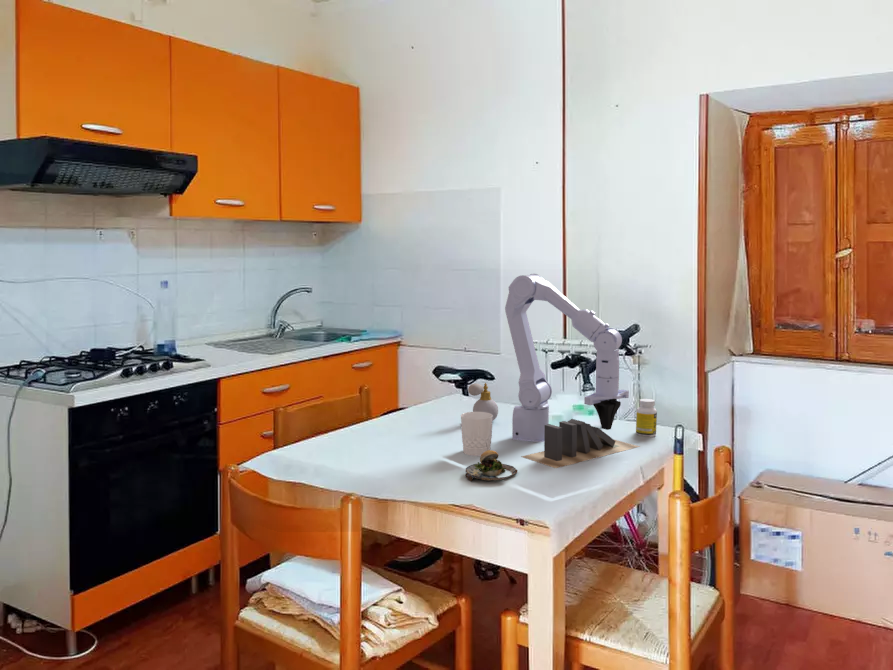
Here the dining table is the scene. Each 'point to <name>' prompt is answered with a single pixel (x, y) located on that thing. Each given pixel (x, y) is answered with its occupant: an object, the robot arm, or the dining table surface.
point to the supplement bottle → (646, 418)
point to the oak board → (580, 455)
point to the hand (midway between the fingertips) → (606, 428)
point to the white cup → (476, 432)
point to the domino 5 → (604, 437)
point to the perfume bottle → (483, 400)
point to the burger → (488, 467)
